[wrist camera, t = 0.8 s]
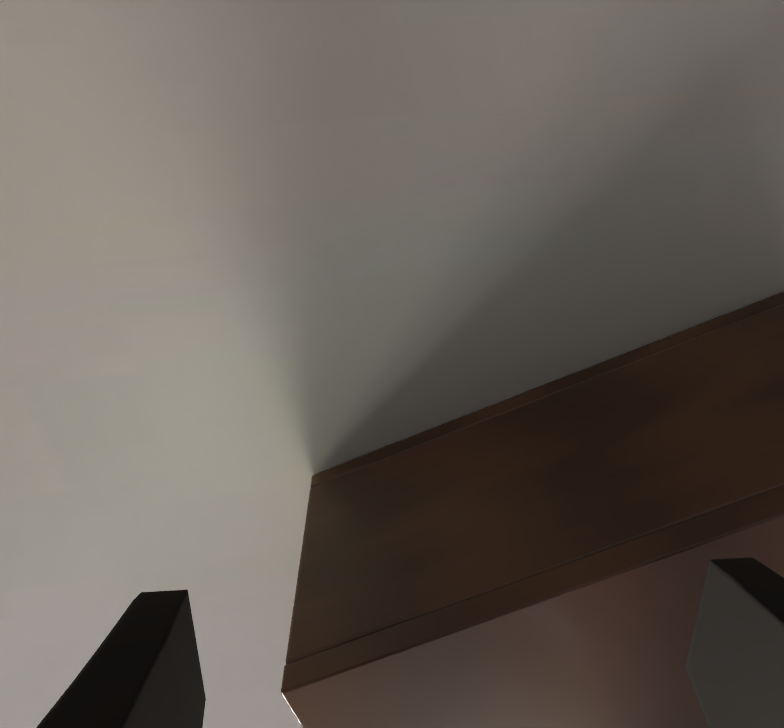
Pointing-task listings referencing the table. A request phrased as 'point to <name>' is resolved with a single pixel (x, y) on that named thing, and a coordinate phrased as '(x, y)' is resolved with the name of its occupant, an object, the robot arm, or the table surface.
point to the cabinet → (545, 545)
